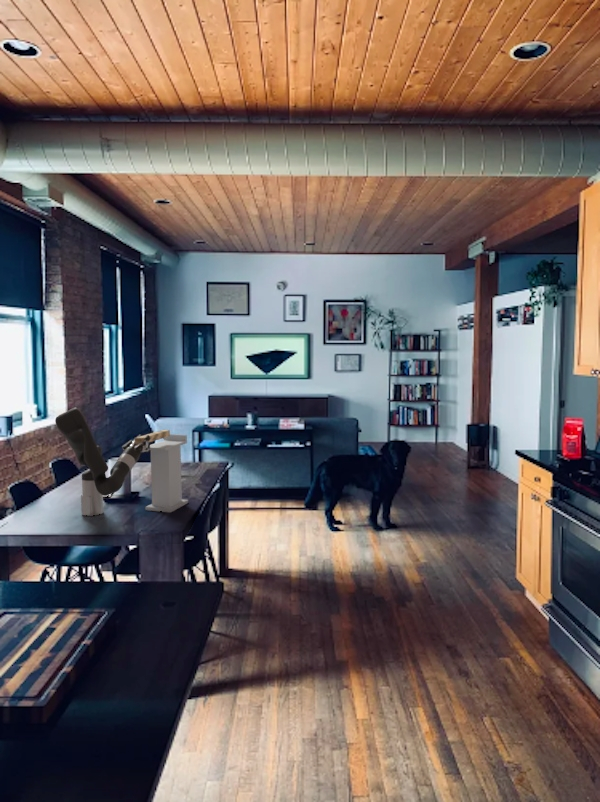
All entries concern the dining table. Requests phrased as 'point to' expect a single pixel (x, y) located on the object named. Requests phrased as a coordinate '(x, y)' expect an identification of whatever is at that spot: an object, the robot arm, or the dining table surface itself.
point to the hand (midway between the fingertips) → (144, 436)
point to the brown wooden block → (153, 436)
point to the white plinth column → (166, 474)
